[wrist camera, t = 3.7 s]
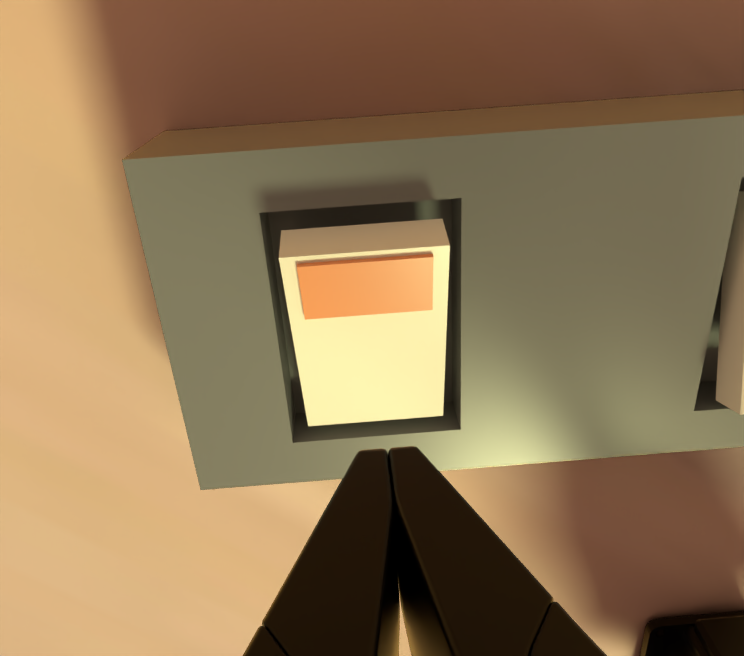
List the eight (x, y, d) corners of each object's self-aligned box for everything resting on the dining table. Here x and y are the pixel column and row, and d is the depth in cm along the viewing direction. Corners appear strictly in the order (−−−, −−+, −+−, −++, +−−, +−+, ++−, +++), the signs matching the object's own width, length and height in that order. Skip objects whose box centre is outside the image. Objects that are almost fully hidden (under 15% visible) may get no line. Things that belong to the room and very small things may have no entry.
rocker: (437, 386, 19) (443, 419, 18) (309, 396, 19) (307, 429, 18) (442, 218, 16) (450, 248, 15) (281, 230, 15) (278, 261, 14)
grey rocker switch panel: (846, 366, 23) (939, 431, 20) (222, 415, 23) (200, 490, 19) (941, 75, 19) (1084, 90, 15) (164, 130, 18) (121, 159, 15)
